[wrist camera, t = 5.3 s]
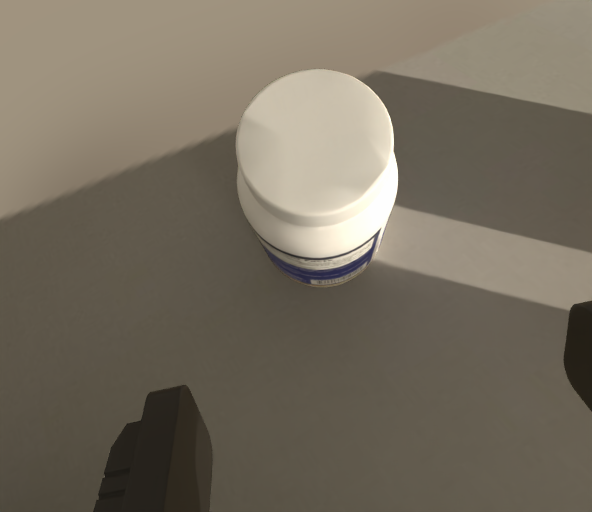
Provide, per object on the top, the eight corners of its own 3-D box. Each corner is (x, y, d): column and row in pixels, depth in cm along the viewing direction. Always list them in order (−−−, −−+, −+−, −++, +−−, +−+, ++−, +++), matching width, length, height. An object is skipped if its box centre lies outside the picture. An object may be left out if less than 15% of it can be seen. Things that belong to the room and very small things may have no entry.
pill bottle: (297, 159, 25) (275, 23, 15) (400, 207, 24) (448, 95, 14) (242, 257, 24) (181, 179, 14) (347, 311, 23) (359, 267, 13)
